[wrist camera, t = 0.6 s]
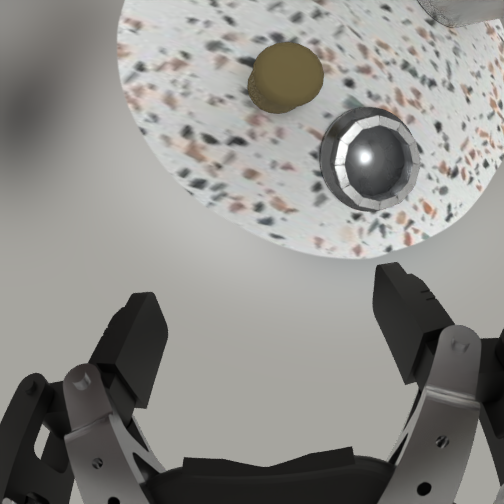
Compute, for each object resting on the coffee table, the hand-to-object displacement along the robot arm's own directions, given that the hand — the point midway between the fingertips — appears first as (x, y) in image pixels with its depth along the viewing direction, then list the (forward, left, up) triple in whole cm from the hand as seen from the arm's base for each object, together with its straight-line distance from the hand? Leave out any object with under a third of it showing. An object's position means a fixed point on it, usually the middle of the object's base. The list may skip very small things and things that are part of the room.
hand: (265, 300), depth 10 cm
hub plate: (-10, +9, -23) cm, 26 cm away
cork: (-9, -4, -23) cm, 25 cm away
